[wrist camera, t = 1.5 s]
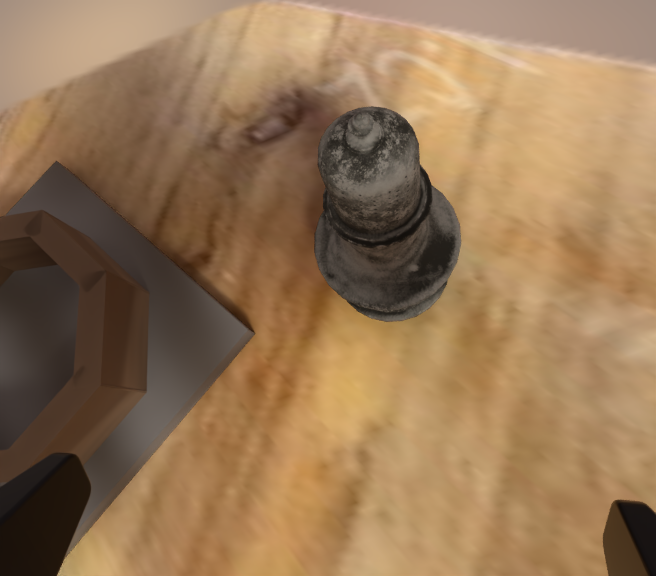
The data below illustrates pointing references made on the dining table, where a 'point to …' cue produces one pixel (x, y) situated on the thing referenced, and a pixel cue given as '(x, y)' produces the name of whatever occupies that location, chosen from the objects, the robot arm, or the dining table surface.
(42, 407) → the socket
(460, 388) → the dining table surface
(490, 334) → the dining table surface
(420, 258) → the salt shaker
